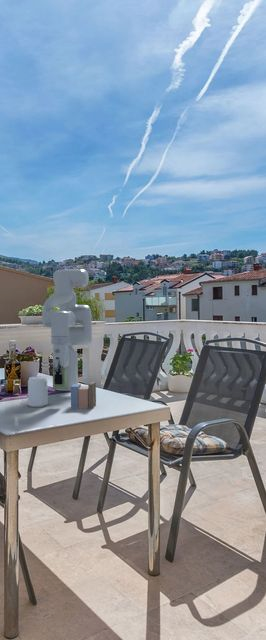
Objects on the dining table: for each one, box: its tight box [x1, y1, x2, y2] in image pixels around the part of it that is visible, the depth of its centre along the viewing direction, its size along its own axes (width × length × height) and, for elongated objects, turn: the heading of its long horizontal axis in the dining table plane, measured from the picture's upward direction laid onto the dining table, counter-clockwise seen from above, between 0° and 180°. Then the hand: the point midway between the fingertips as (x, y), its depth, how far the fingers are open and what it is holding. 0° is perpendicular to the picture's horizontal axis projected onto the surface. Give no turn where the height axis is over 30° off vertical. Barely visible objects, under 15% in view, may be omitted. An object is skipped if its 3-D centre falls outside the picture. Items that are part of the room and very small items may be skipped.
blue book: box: [70, 383, 82, 409], centre depth 214 cm, size 6×3×9 cm, turn 175°
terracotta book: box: [77, 385, 90, 409], centre depth 213 cm, size 6×4×8 cm, turn 175°
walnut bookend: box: [87, 381, 97, 409], centre depth 213 cm, size 7×2×10 cm, turn 175°
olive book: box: [52, 366, 68, 390], centre depth 214 cm, size 6×5×9 cm
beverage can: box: [27, 375, 49, 408], centre depth 215 cm, size 8×8×12 cm
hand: (60, 382), depth 214 cm, fingers closed on olive book, 6 cm apart
